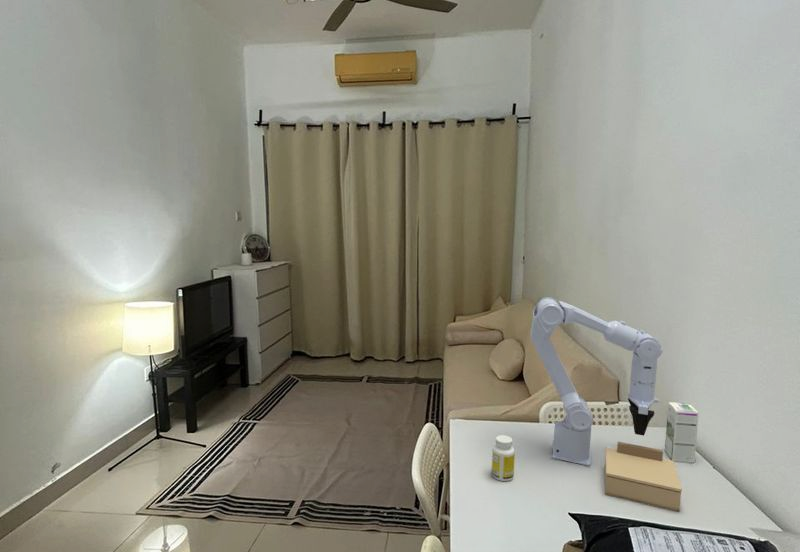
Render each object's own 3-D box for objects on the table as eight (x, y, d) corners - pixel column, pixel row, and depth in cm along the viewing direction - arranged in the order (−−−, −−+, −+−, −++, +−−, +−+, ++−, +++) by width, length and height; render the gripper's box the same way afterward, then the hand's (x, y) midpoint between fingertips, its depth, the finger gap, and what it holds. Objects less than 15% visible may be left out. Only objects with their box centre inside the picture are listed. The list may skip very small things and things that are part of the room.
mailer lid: (606, 475, 106) (606, 463, 105) (605, 449, 118) (606, 438, 117) (681, 492, 99) (683, 479, 99) (673, 463, 111) (674, 451, 111)
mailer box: (605, 494, 106) (606, 476, 106) (604, 467, 118) (606, 450, 117) (679, 511, 100) (681, 493, 100) (671, 481, 112) (672, 464, 111)
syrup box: (695, 463, 120) (700, 411, 119) (670, 461, 122) (675, 409, 120) (686, 453, 126) (691, 403, 124) (663, 450, 127) (667, 401, 125)
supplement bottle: (515, 473, 115) (517, 436, 114) (511, 484, 110) (513, 446, 109) (494, 467, 117) (495, 432, 116) (489, 478, 112) (490, 441, 111)
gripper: (663, 392, 109) (659, 445, 111) (657, 374, 122) (653, 421, 124) (631, 387, 112) (626, 439, 113) (628, 370, 125) (624, 417, 127)
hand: (638, 430), depth 119 cm, fingers open, 5 cm apart
